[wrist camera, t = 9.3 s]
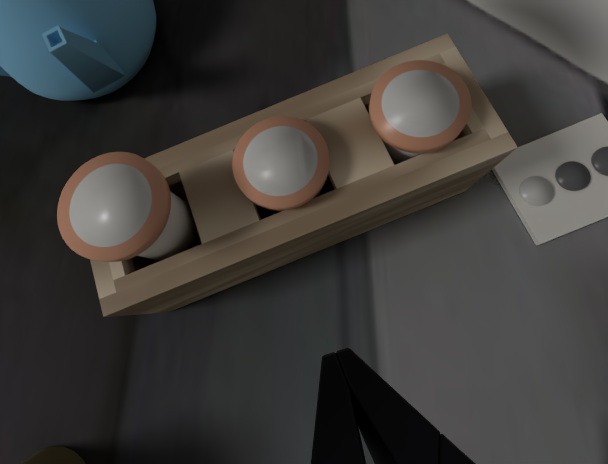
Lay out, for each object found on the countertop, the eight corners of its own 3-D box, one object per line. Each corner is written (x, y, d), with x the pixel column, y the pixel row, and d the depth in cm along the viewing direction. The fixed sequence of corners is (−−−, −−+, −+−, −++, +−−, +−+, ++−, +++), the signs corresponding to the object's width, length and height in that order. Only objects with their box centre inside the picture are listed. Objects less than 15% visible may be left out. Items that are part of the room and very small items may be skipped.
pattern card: (654, 197, 22) (663, 194, 22) (536, 245, 22) (541, 244, 22) (597, 116, 24) (604, 111, 23) (486, 161, 24) (490, 157, 23)
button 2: (218, 250, 19) (178, 234, 14) (137, 284, 19) (69, 278, 14) (193, 175, 20) (147, 135, 15) (117, 206, 20) (48, 177, 15)
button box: (465, 191, 24) (517, 147, 17) (169, 312, 24) (103, 316, 17) (417, 104, 26) (447, 33, 19) (142, 217, 26) (73, 187, 19)
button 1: (454, 165, 21) (490, 124, 16) (381, 194, 21) (395, 163, 16) (419, 101, 22) (442, 45, 17) (350, 130, 22) (354, 82, 17)
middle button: (342, 210, 21) (344, 184, 16) (270, 240, 21) (250, 222, 16) (313, 145, 22) (307, 101, 17) (244, 173, 22) (219, 137, 17)
